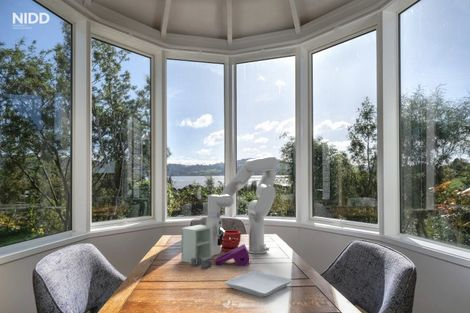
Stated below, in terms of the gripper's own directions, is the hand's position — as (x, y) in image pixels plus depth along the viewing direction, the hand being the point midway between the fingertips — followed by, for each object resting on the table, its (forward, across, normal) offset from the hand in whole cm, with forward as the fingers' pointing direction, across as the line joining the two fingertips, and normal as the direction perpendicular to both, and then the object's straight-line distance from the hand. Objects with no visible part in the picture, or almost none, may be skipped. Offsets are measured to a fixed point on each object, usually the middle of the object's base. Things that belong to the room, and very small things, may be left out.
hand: (213, 244), depth 188 cm
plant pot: (+6, -2, -14) cm, 16 cm away
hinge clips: (+6, -10, +22) cm, 25 cm away
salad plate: (+7, -50, +31) cm, 59 cm away
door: (+6, 0, 0) cm, 6 cm away
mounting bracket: (+6, -20, +8) cm, 23 cm away
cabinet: (+6, +1, +14) cm, 15 cm away
